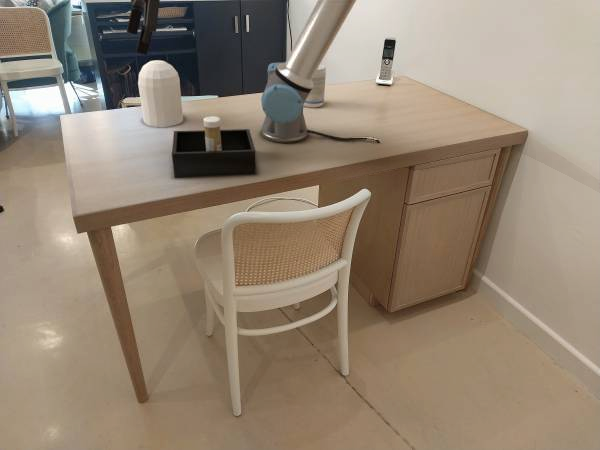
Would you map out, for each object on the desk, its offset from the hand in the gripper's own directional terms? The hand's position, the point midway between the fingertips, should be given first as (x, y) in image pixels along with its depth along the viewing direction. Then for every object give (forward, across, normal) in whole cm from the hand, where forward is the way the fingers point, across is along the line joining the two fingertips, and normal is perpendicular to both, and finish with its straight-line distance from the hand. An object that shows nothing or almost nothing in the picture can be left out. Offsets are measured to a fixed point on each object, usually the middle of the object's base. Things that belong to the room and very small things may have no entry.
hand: (136, 42), depth 124 cm
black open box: (+19, +26, +22) cm, 39 cm away
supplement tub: (+9, -11, +73) cm, 74 cm away
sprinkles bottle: (+19, +26, +22) cm, 39 cm away
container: (+28, -12, +18) cm, 36 cm away
